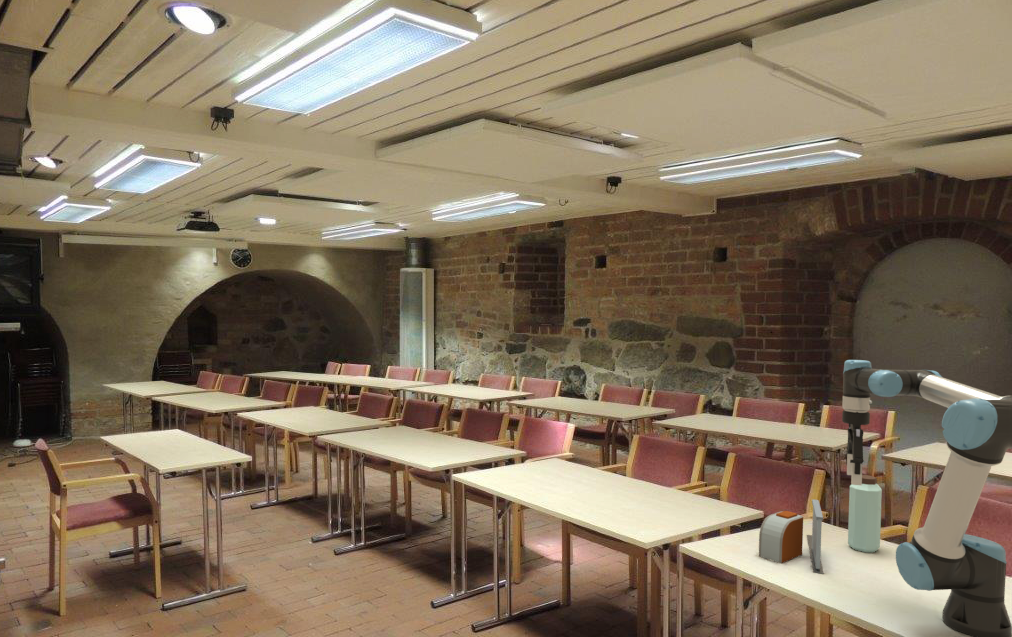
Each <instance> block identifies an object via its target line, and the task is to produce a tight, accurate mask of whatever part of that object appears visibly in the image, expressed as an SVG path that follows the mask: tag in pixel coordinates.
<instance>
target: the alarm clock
mask: <svg viewBox="0 0 1012 637" xmlns="http://www.w3.org/2000/svg"><path fill="white" fill-rule="evenodd" d="M758 535H759V536H758V537H759V538H758V541H759V542H758V557H760V558H763V559H766V560H770V561H771V562H772V561H773V562H776V563H779V564H783V563H786V562H788V561H790V560H792V559H795V558H797V557H800V556H802V555H803V540H804V539H803V538H804V537H803V536H804V516H803V515H800V514H798V513H797V512H793V511H788V510H783V511H782V510H781V511H778V512H774V513H772V514H769V515H767V516H766V517H765V518H764V520H763V521H762V523H761V525H760V530H759V534H758Z"/></svg>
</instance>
